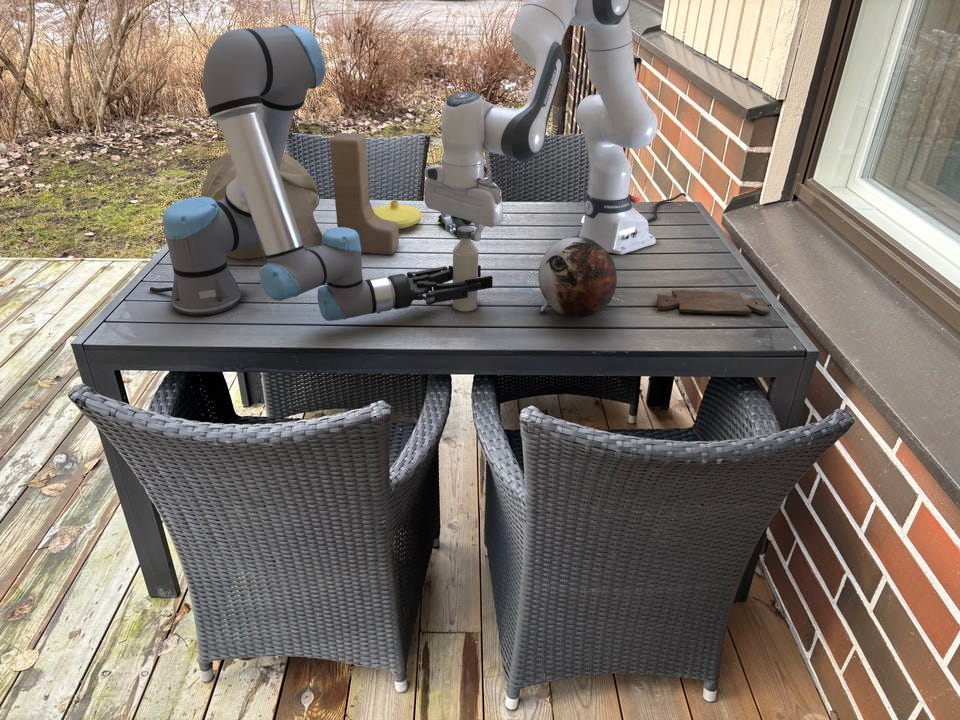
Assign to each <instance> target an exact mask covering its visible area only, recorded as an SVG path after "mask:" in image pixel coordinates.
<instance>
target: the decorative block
mask: <svg viewBox="0 0 960 720" xmlns="http://www.w3.org/2000/svg"><path fill="white" fill-rule="evenodd" d="M366 139H367V138H366V135H365V134H364V133H353V132H352V133H351V132H350V133H348V132H347V133H346V132H338V133H336V134H335V135H333V137H331V138H330V139H329V148H330V151H329V152H330V161H331V170H332V171H331V172H332V181H333V183H332V184H333V193H334V203H335V204H334V205H335V215H336V224H337V225H336V226H337V227H345V228H350V229H353V230H355V231H356V232H357V233H358V235H359V240H360V245H361V254H362V253H365V254H377V255H379V254H380V255H394V253H395V252H396V250H397V248H398V247H399V245H400V237H399V229H398V223H397V222H394V221H389V220H384V219H381V218H380V217H379V216H377V215H376V214H375V213H374V211H373V209H374V208H373V207H372V204H371V201H370V200H371V198H370V197H371V196H370V184H369V169H368V167H369V166H368V155H367V154H368V153H367V140H366Z"/></svg>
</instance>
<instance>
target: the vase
mask: <svg viewBox="0 0 960 720" xmlns="http://www.w3.org/2000/svg"><path fill="white" fill-rule="evenodd" d="M372 209H373V211H374V213H375V214H376V215H377V216H379V217H380V218H381V219H384V220H389V221H394V222H397V223H398V230H402V229H407V228H410V227H412V226H413V225H416V224H418V223H419V222H420V221H421V219H422V217H423V215H422V212H421V211H420V210H419V209H418V208H417V207H414V206H411V205H407V204H399V201H398V200H396V199H395V200H390V204H386V205H380V206H377V207H375V208H372Z"/></svg>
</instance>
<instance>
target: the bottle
mask: <svg viewBox="0 0 960 720" xmlns="http://www.w3.org/2000/svg"><path fill="white" fill-rule="evenodd" d="M478 265H479V249H478V247H477V246H476V245H475V244H474V243H473V241H472V240H471V238H470V239H462V238H459V242H458V243H457V244H456V245H455V246H454V247H453V249H452V266H453V280H452V283H462V282H465V280H469V279H475V278H479V277H478ZM478 291H479V290H477V291H472V292H468V298H463V299H457V300H452V307H453V309H455V310H456V311H458V312H459V311H460V312H471V311H474V310H476V309H477V308H478V295H479V294H478Z"/></svg>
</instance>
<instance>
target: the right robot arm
mask: <svg viewBox="0 0 960 720" xmlns="http://www.w3.org/2000/svg"><path fill="white" fill-rule="evenodd" d="M630 3H631V0H524V1H523V3H522V5H521V6H520V8H519V10H518V12H517V14H516V16H515V18H514V20H513V23H512V25H511V30H510V40H511V44H512V47H513V49H514V51H515V52H516V54H517V56H519V58H520V59H521V60H522V61H523V62H524V63H525V64H527V65H528V66H530V67H532V69H533V70H535V76H534V79H533V82H532V85H531V88H530V92H529V95H528V98H527V100H526V103H525V104H524V105H523V106H522V107H519V108H511V107H507V106H502V105H498V104H493V103H491V102H489V101H486V100H485V99H484V98H482V96H481V94H480V93H479V92H475V91H459V92H455V93H453V94H450V95H449V96H448V97H447V98H446V99H445V100H444V103H443V107H442V108H443V109H442V115H441V142H442V145H443V153H442V157H441V163H438V164H434V165H431V166H428V167H426V168H424V177H425V181H424V186H423V189H424V190H423V194H424V195H423V196H424V197H423V198H424V199H423V200H424V204H425V206H426V207H427V208H428V209H430V210H433V211H435V212H439V213H440V215H441V217H442V219H443V221H444V223H445V227H444V229H445V232H446V233H449V234H453V233H454V232H455V224H453V222H452V219H451V215H452V216H455V217H458V218H462V219H465V220H468V221H470V223H471V222H472V223H474V224H473V226H474V228H475V229H474V232H472V233H471V241H472V242H476V243H477V242H480V241H481V239H482V233H483V232H484V229H485V227H487V228H494V227H497V226H499V225H501V224H502V222H503V221H504V207H503V198H502V190H501V189H500V187H499V185H497V183H496V182H494V181H489V180H486V179H485V157H484V152H488V153H492V154H495V155H499V156H500V155H501V156H505V157H507V158H509V159H513V160H515V161H518V162H521V163H525V162H528V161H529V160H531V159H533V158H534V157H535V156H537V155H538V154H539V153H540V152H541V151H542V148H543V147H544V144H545V140H546V135H547V128H548V122H549V119H550V115H551V113H552V110H553V107H554V103H555V100H556V96H557V93H558V90H559V87H560V83H561V80H562V78H563V73H564V71H565V70H564V69H565V65H566V52H565V49H564V47H563V46H562V43H563V39H564V37H565V35H566V33H567V30H568V28H569V26H573V27H584V26H585V29H584V30H585V32H584V33H585V49H586V57H587V58H586V59H587V69H588V77H589V81H590V83H591V85H592V86H593V87H594V88H595V90H596V91H597V93H598V94H590V95H587V96H586V97H584V98H583V99H581V101H580V102H579V103H578V106H577V108H576V112H575V121H576V125H577V127H578V128H579V130H580V132H581V133H582V135H583V138H584V141H585V146H586V151H587V157H588V167H589V168H588V182H587V191H586V192H585V196H584V215H583V217H582V218H581V223H582V225H581V228H580V231H579V234H578V237H585V238H588V239H591V240H594V241H595V242H597V243H598V244H600V245H601V246H602V247H603V248H604V249H605V250H606V251H607V252H608V253H609V254H610V253H611V254H616V255H625V254H628V253H631V252H634V251H637V250H640V249H643V248H646V247H650V246H652V245H655V244H656V243H657V239H656V237H655V236H654V235H653V234H651V233H650V232H649V230H650V229H649V228H650V226H649V222H653V221H655V220H656V219H657V218H658V214H657V209H658V206H659V205H661V204H664V203H668V202H673V201H675V200H677V199H679V198H680V197H681V196H683V197H684V198H686V197H687V194H686V193H684V192H681V193H678V194H677V195H675V196H674V197H672V198H668V199H667V198H666V199H663V200H660V201H658V202H656V203H655V205H654V208H653V217H651V218H649V219H647V218H646V217H645V216H644V215H642V214H641V213H640V212H638V211H637V210H636V208H634V207H633V203H634V205H639V203H640V202H641V198H640V197H639V196H637V195H636V194H635V195H631V194H630V192H629V191H630V183H631V175H632V165H631V163H630V161H629V159H628V157H627V156H626V153H625V150H624V149H632V150H633V149H637V150H638V149H639V150H641V149H644V148H646V147H648V146H650V145H651V143H652V142H653V140H654V139H655V138H656V135H657V133H658V128H659V120H658V117H657V115H656V113H655V112H654V111H653V110H652V108H651V107H650V106H649V104H648V103H647V101H646V99H645V97H644V95H643V91H642V89H641V86H640V84H639V81H638V78H637V73H636V68H635V67H636V66H635V58H634V57H635V56H634V46H633V45H634V44H633V32H632V25H631V18H630V14H629V10H628V9H629V7H630Z"/></svg>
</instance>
